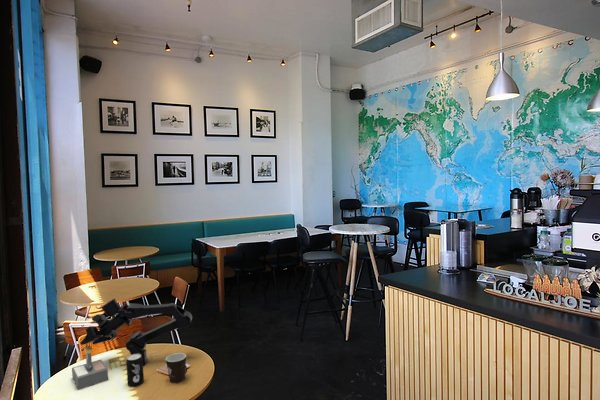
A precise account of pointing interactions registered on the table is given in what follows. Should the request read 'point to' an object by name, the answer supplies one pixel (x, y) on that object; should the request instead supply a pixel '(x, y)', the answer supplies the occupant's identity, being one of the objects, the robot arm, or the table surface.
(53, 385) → the table surface
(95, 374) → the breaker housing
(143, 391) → the table surface
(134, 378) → the beverage can
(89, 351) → the breaker lever
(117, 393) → the table surface
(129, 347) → the robot arm
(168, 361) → the coffee mug
